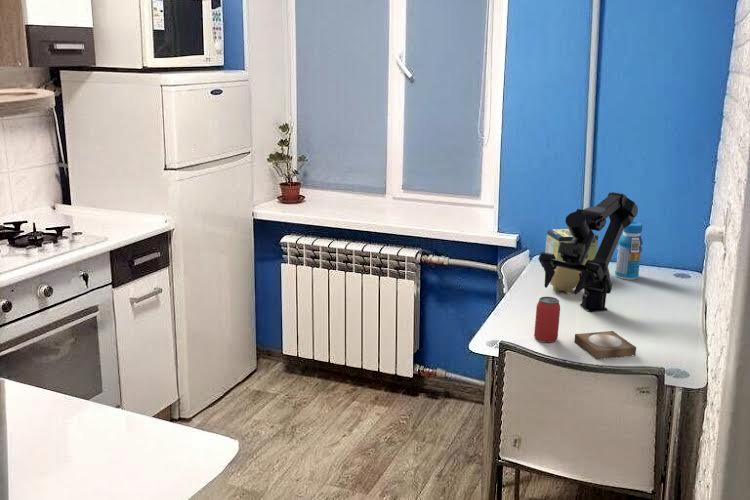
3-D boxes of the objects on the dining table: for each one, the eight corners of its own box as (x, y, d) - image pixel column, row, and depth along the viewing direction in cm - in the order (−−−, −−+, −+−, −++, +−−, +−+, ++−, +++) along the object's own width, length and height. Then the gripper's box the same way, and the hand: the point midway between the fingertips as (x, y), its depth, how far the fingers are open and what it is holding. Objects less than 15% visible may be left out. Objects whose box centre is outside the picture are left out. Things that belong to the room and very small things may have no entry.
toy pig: (586, 296, 256) (589, 266, 253) (550, 295, 256) (553, 265, 253) (579, 286, 266) (582, 257, 263) (544, 285, 266) (547, 256, 263)
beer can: (557, 344, 217) (561, 304, 213) (533, 342, 218) (537, 302, 214) (556, 335, 223) (560, 297, 219) (534, 333, 224) (537, 294, 221)
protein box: (594, 276, 277) (599, 235, 273) (554, 278, 274) (558, 236, 270) (581, 267, 287) (585, 227, 283) (542, 269, 284) (546, 229, 279)
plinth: (611, 338, 221) (612, 330, 221) (635, 355, 210) (636, 347, 209) (574, 342, 218) (575, 333, 218) (596, 359, 207) (597, 350, 206)
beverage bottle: (611, 277, 276) (617, 224, 271) (617, 271, 283) (623, 219, 278) (635, 281, 272) (642, 227, 267) (641, 275, 279) (647, 222, 273)
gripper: (543, 225, 227) (523, 269, 221) (604, 237, 215) (583, 283, 210) (553, 246, 235) (533, 288, 230) (612, 258, 224) (592, 303, 218)
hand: (559, 290), depth 222 cm, fingers open, 9 cm apart
